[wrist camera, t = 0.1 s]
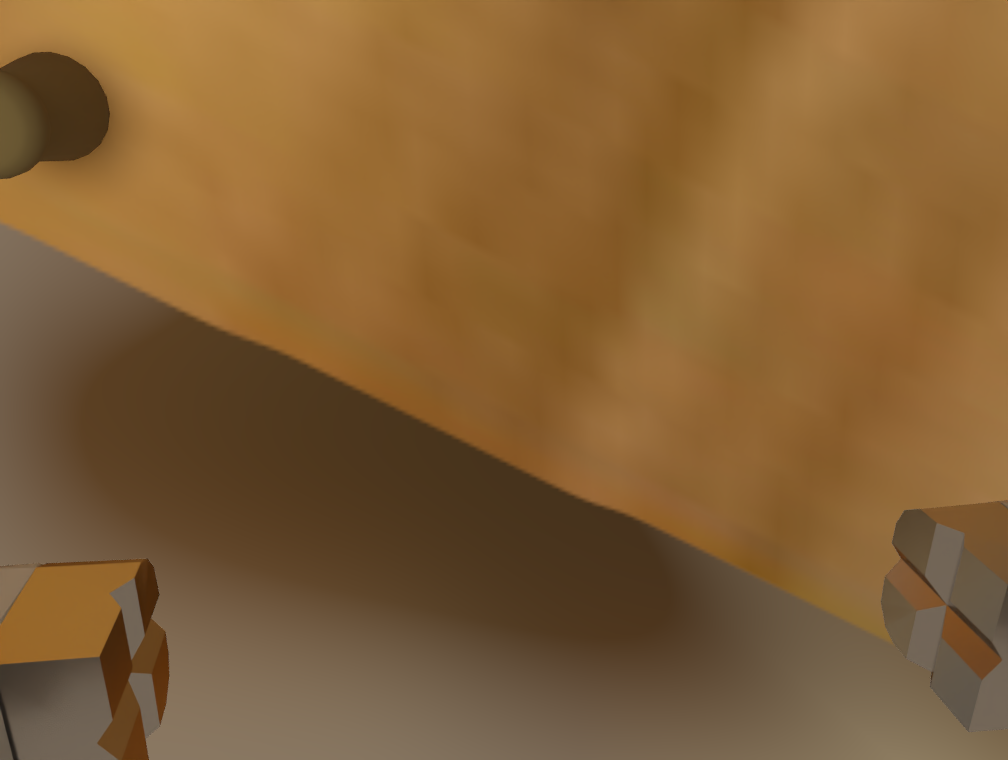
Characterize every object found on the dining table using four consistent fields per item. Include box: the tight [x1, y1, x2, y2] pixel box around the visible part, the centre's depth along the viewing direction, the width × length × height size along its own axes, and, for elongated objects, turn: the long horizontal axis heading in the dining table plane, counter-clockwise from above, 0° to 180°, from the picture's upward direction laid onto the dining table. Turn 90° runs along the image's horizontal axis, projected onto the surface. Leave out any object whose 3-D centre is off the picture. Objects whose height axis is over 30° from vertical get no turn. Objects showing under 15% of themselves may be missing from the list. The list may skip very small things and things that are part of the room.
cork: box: [0, 52, 110, 179], centre depth 45 cm, size 6×6×11 cm
